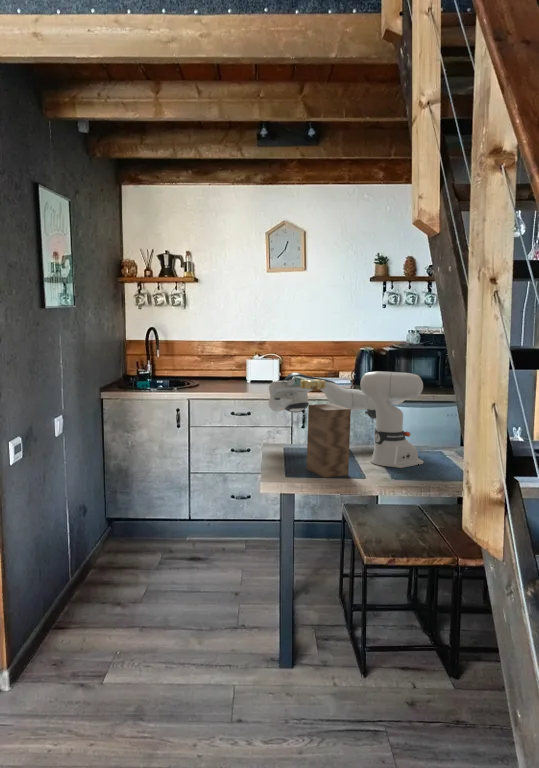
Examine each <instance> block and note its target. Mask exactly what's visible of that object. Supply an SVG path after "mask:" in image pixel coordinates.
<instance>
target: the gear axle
mask: <svg viewBox="0 0 539 768" xmlns="http://www.w3.org/2000/svg"><path fill="white" fill-rule="evenodd" d="M293 378H296V380H297V382H296V383H293V384H297V385H300V387H301V388H304V389H313V390H320V389H325V385H326V381H325V380H318V379H308V378H304V377H299V376H295V377H293Z"/></svg>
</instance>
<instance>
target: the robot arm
mask: <svg viewBox="0 0 539 768" xmlns="http://www.w3.org/2000/svg"><path fill="white" fill-rule="evenodd" d="M295 376H299V377H304V378H308V379H318V380H325V381H326V385H325V389H319V390H320V391H321V392H322V393H323V394H324V395H325V397H326V398H327V401H328V404H335V405H338V406H342V407H345V408H349V409H351V412H356V411H357V412H358V411H363V410H365V411H364V414H366V415H367V416H368V417H369V418H370V419H371V420H374V421H375V423H376V425H375V429H374V448H373V453H372V456H371V459H370V462H371V463H372V464H375V465H378V466H381V467H382V466H383V467H391V468H399V469H402V468H407V467H413V466H417V465H418V464H419V465H423V464H424V460H422V459H421V458H419V453H418V449H417V447H415V446H414V445H413V444H412V443H411V442H409V441H408V440H407V439H406V437H408V438H409V437H410V436H411V432H409V431H404V430H403V426H404V413H403V411H402V410H401V409H400V408H399V407H397V406H398V405H401V404H402V403H405V402H404V401H406V400H408V399H411V400H412V399H417V398H418V397H420V395H421V394H422V392H423V390H424V382H423V380H422V378H421V376H419V375H418V374H415V373H411V372H399V371H398V372H397V371H396V372H395V371H382V370H381V371H379V370H378V371H377V370H376V371H369V372H365V373H364V374H363V375H362V377H361V379H360V389H357V388H345V387H342V386H340V385H338V384H337V383H336V382H335V381H333V380H330V379H325V378H319V377H314V376H310V375H306V374H303V373H300V372H290V373H289V374H287V376H285V378H284V380H274V381H272V382H271V383H270V385H269V386H268V390H269V398H268V405H269V408H270V410H272V411H273V412H275V413H277V412H282V411H284V410H285V411H287V412H289V413H293V414H295V413H301V412H303V411H304V410H306V409H308V405H310V404H309V403H310V402H309V396H308V393H310V392H312V391H313V390H314V389H304V388H301V387H300V385H297V384H293V383H296V382H297V380H296V378H293V377H295Z"/></svg>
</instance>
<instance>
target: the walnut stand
mask: <svg viewBox="0 0 539 768" xmlns="http://www.w3.org/2000/svg"><path fill="white" fill-rule="evenodd" d="M307 409H308V410H307V415H308V416H307V441H306V442H307V444H306V470H309V471H310V472H312V473H314V474H316V475H318V476H320V477H321V478H324V479H325V478H333V477H335V478H336V477H344V476H349V470H350V469H349V466H350V441H351V436H350V435H351V414H352V411H351V409H349V408H345V407H342V406H338V405H335V404H330V403H322V404H309V405H308V407H307Z"/></svg>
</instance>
